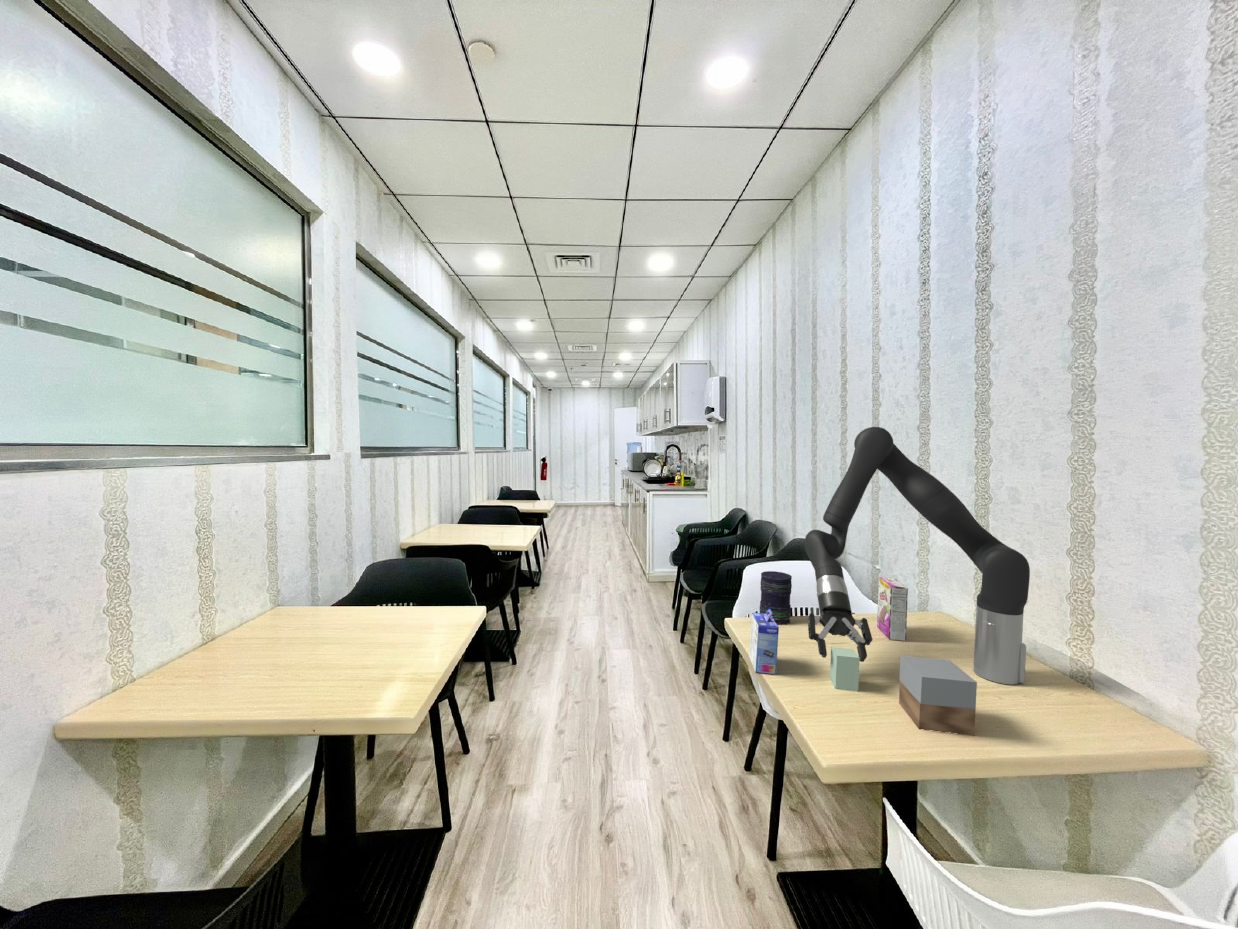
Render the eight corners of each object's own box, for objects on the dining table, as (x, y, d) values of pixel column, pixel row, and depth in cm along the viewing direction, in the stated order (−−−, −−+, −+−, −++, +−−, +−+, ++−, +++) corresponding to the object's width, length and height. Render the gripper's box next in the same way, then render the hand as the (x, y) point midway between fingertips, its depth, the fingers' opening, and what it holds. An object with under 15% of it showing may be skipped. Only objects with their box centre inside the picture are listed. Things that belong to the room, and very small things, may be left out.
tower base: (948, 709, 102) (949, 685, 102) (974, 737, 92) (975, 710, 92) (898, 704, 104) (899, 679, 104) (918, 730, 94) (920, 703, 94)
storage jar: (764, 612, 162) (766, 569, 161) (794, 618, 156) (795, 574, 156) (754, 620, 154) (756, 575, 153) (785, 627, 148) (787, 581, 148)
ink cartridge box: (778, 675, 116) (780, 617, 115) (755, 673, 116) (757, 616, 116) (769, 658, 126) (771, 604, 125) (748, 656, 126) (750, 603, 126)
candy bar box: (875, 626, 151) (877, 576, 150) (892, 628, 150) (894, 577, 149) (888, 640, 140) (890, 586, 139) (906, 642, 139) (909, 587, 138)
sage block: (851, 681, 114) (853, 649, 114) (858, 691, 109) (859, 657, 109) (829, 678, 115) (831, 646, 114) (835, 689, 110) (836, 655, 110)
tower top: (948, 684, 102) (949, 660, 102) (975, 709, 92) (976, 682, 92) (899, 679, 104) (900, 655, 104) (920, 703, 94) (921, 677, 94)
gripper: (807, 587, 122) (815, 649, 111) (865, 592, 119) (880, 655, 108) (802, 601, 127) (809, 661, 116) (858, 606, 124) (871, 667, 114)
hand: (843, 658), depth 112 cm, fingers open, 8 cm apart
